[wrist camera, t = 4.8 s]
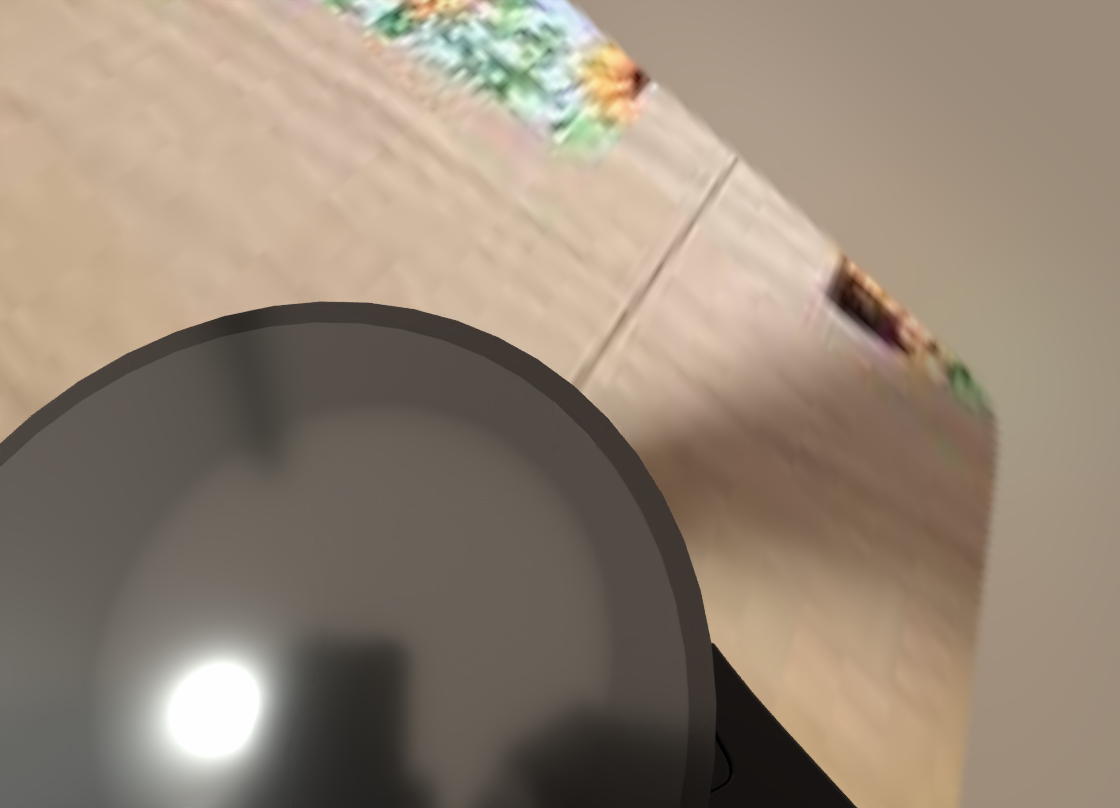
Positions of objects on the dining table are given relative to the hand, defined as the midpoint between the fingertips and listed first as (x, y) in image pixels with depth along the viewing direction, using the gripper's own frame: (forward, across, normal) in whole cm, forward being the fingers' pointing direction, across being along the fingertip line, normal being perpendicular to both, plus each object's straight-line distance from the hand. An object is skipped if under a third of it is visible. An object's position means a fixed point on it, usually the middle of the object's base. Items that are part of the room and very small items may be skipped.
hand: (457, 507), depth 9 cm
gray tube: (+4, 0, +6) cm, 7 cm away
